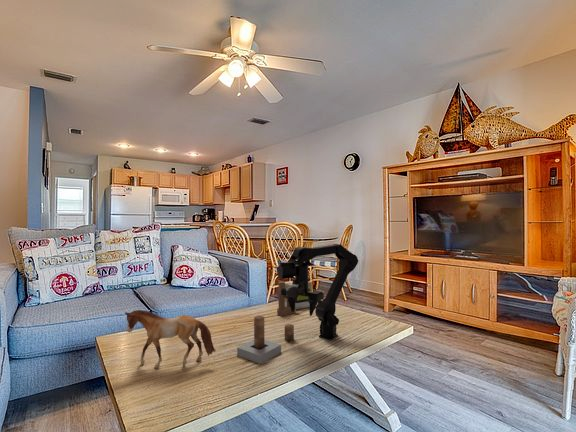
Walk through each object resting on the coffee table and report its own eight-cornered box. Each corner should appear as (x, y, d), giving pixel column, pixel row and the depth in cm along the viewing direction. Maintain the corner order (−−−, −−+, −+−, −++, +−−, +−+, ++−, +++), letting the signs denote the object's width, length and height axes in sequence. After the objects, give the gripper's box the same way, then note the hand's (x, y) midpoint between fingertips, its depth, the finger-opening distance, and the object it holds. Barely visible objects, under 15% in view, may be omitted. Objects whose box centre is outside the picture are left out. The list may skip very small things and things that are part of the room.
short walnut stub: (295, 339, 132) (295, 325, 132) (290, 342, 129) (290, 328, 129) (288, 337, 134) (288, 323, 135) (282, 340, 131) (282, 326, 131)
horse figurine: (122, 372, 104) (122, 312, 104) (132, 362, 112) (132, 306, 112) (215, 367, 107) (215, 309, 107) (218, 357, 115) (218, 303, 115)
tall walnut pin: (265, 351, 120) (265, 316, 120) (263, 356, 116) (263, 319, 116) (255, 351, 120) (255, 315, 120) (253, 355, 116) (253, 319, 116)
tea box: (304, 302, 189) (304, 279, 190) (312, 307, 180) (312, 282, 180) (282, 306, 183) (282, 281, 183) (289, 310, 174) (289, 284, 174)
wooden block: (295, 312, 170) (295, 280, 171) (281, 316, 163) (281, 283, 163) (290, 310, 173) (290, 279, 173) (276, 315, 165) (276, 282, 166)
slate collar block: (281, 352, 119) (281, 344, 119) (260, 364, 110) (260, 355, 110) (258, 344, 126) (258, 337, 126) (237, 355, 117) (237, 347, 117)
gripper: (272, 277, 128) (272, 314, 128) (309, 282, 117) (309, 323, 117) (288, 273, 137) (288, 308, 137) (324, 278, 126) (324, 316, 126)
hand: (301, 313), depth 129 cm, fingers open, 9 cm apart
